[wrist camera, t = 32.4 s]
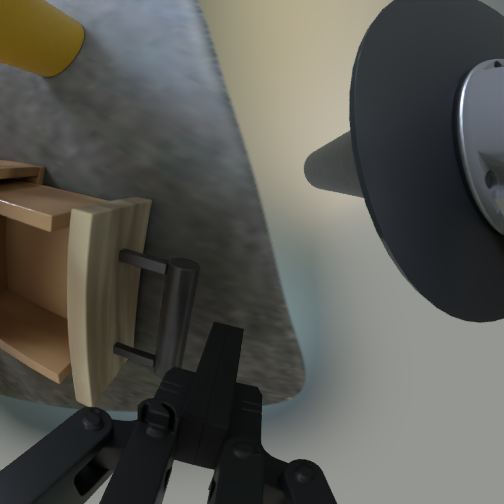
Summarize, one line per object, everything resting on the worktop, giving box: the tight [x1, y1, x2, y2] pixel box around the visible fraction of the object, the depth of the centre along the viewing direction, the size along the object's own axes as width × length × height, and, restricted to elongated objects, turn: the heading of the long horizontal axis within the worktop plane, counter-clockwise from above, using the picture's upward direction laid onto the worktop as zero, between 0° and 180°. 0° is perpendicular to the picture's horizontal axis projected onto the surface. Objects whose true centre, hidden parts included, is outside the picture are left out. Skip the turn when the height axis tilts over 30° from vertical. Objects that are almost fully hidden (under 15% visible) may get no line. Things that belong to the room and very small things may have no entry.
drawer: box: [0, 178, 200, 407], centre depth 15 cm, size 18×11×7 cm, turn 76°
